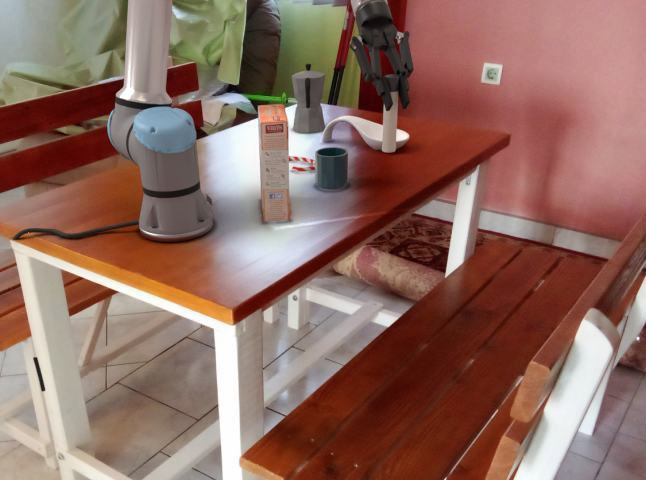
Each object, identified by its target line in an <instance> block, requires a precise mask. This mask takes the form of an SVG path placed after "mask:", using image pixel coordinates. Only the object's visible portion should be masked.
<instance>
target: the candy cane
mask: <svg viewBox="0 0 646 480" xmlns="http://www.w3.org/2000/svg"><path fill="white" fill-rule="evenodd" d="M295 161H296V162H305V163H309V164H311V165H310V166H305V167H304V166H302V167H299V166H292V167H291V170H292V171H296V172H311V171H314V170H315V159H313V158H309V157H303V156H295V155H289V162H295Z"/></svg>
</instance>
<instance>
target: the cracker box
mask: <svg viewBox="0 0 646 480" xmlns="http://www.w3.org/2000/svg"><path fill="white" fill-rule="evenodd" d="M286 111H287V110H286V106H285V104H283V103H273V104H261V105H257V125H258V150H259V153H258V155H259V174H260V175H259V176H260V177H259V179H260V200H261V209H262V212H261V213H262V219H263V220H262V221H263V222H264V223H266V222H272V221H273V222H274V221H288V220H291V210H290V208H291V207H290V206H291V205H290V204H291V202H290V161H289V156H290V154H289V153H290V151H289V150H290V149H289V148H290V147H289V146H290V145H289V144H290V143H289V141H290V140H289V119H288V115H287V112H286Z"/></svg>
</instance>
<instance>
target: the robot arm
mask: <svg viewBox="0 0 646 480" xmlns="http://www.w3.org/2000/svg"><path fill="white" fill-rule="evenodd" d="M173 2H174V0H127V15H126V16H127V17H126V36H125V57H124V59H125V60H124V76H123V85H122V86H123V87H122V88H120V90H118V91H117V92H116V93H115V102H114V106H115V107H114V108H113V109H112V111H111V112H110V113H109V117H108V119H107V128H106V129H107V135H108V138H109V141H110V143H111V145H112V147H114V149H115V150H116V152H118V154H120V155H121V157H123V158H124V159H126V160H128V161H130V162H132V163H133V164H134V165H136V166H137V167H139V172H140V179H141V187H142V193H143V197H142V203H141V208H140V213H139V219H136V220H130V221H126V222H121V223H115V224H111V225H106V226H102V227H97V228H93V229H89V230H85V231H81V232H74V233H71V232H69V233H67V232H64V231H61V230H59V229H55V228H45V227H43V228H42V227H29V228H25V229H22V230H20V231H18V232H17V233H15V235H14V236H13V237H12V241H17V240H19V239H20V238H21V237H22V236H24V235H27V234H33V233H35V234H36V233H38V234H54V235H56V236H59V237H62V238H64V239H76V238H77V239H78V238H83V237H87V236H90V235H95V234H98V233H104V232H109V231H113V230H117V229H123V228H127V227H128V228H129V227H133V226H138V228H139V233H140V235H141V236H142V237H143V238H145V239H147V240H151V241H154V242H160V243H176V242H177V243H178V242H183V241H189V240H193V239H197V238H199V237H201V236H204V235H206V234H207V233H209V232H210V231H211V230H212V228H213V226H214V221H213V215H212V212H211V209H210V208H209V206H208V203H209V205H210V206H213V199H212V198H211V197H210V196H209V194H207V193H205V196H204V193H203V191H202V188H201V179H200V168H199V167H200V166H199V156H198V155H199V154H198V145H197V130H196V128H195V127H196V126H195V121H194V119H193V117H192V116H191V114H190V113H189V112H188V111H186V110H184V109H182V108H177V107H173V99H172V98H171V97H170V95H169V94H168V93H167V79H168V67H169V55H170V54H169V53H170V40H171V27H172V15H173V14H172V13H173ZM349 2H350V5H351V9H352V12H353V13H352V14H353V16H354V20H355V24H356V27H357V31H358V33H359V34H358V36H355V35H354V36H352V37H351V40H350V42H349V44H348V45H349V48H350V49H351V51H352V52H353V53H354V56H355V58H356V60H357V63H358V67H359V69H360V72H361V74H362V77H363V80H364V82H365V83H370V82H371V84H372V86H373V87H375V90H376V93H377V96H379V97H381V98H382V101H383V106H384V105H385V109H386V111H390V109H391V107H392V105H393V100H392V97H391V93H390V90H389V86H388V83H387V79H386V77H385V76H383V72H382V65H381V53H380V51H382V52H383V53H384V55H385V56H386V57H387V60H388V61H389V63H390V67H391V68H392V70H393V72H394V74H396V75H399V92H398V99H399V101H400V105H401V108H402V110H407V108H408V106H410V105H409V104H410V103H411V100H410V95H409V93H408V92H409V91H410V87H411V86H410V83H409V80H408V79H409V78H410V77H411V76H412V73H413V71H414V70H415V69H414V62H413V57H412V53H411V47H410V43H409V40H410V31H408V30H405V31H404V32H400V31H398V29H397V27H396V26H395V25H394V21H393V20H394V19H393V16H392V13H391V9H390V6H389V4H388V3H389V2H388V0H349ZM395 39H396V40H397V44H398V45H399V52H398V50H397V47H396V42H395ZM364 46H365V47H366V48H367V49H368V50H369V51H368V54H369V55H367V52H366V49H365V47H364ZM399 53H400V54H399ZM368 56H369V57H370V61H369V58H368ZM205 197H206V198H205ZM28 232H29V233H28ZM32 359H33V363H34V366H35V370H36V374H37V377H38V382H39V387H40V391H41V392H45V391H46V387H45V382H44V377H43V374H42V369H41V366H40V362H39V357H38V356H34V357H32Z"/></svg>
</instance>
